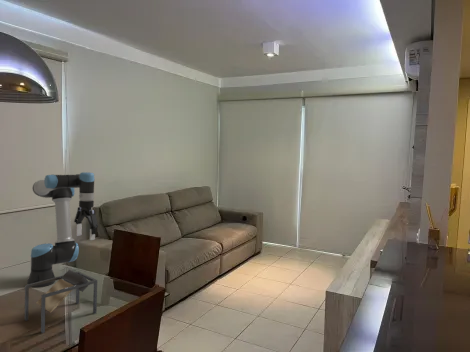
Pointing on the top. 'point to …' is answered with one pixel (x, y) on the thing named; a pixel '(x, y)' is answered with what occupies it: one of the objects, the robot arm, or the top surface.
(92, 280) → the stand
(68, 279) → the trapdoor
